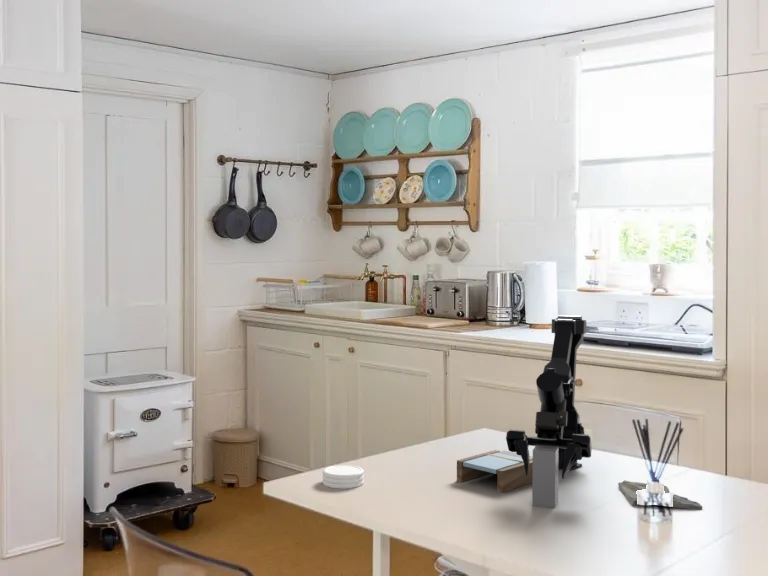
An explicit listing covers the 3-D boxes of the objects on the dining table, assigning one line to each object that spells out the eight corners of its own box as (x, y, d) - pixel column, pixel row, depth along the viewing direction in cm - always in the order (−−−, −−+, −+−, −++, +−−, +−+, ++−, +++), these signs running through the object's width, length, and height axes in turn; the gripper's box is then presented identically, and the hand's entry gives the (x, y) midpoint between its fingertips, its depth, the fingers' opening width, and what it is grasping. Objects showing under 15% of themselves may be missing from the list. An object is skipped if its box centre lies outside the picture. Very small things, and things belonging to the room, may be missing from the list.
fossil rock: (615, 488, 215) (615, 478, 215) (678, 489, 215) (678, 479, 214) (633, 510, 197) (633, 500, 197) (702, 511, 197) (702, 501, 197)
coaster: (335, 492, 211) (335, 477, 211) (315, 482, 219) (315, 468, 219) (371, 485, 216) (371, 471, 216) (350, 476, 225) (350, 462, 225)
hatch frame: (544, 478, 221) (544, 458, 221) (502, 492, 210) (502, 471, 210) (498, 468, 231) (499, 448, 231) (456, 480, 220) (456, 460, 219)
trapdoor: (536, 469, 222) (536, 456, 222) (495, 482, 211) (495, 468, 211) (503, 462, 229) (504, 449, 229) (463, 474, 218) (463, 461, 218)
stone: (535, 499, 204) (536, 444, 204) (557, 501, 203) (558, 446, 202) (532, 505, 200) (532, 450, 199) (554, 507, 198) (555, 451, 197)
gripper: (507, 394, 206) (498, 453, 197) (591, 399, 201) (585, 460, 191) (513, 421, 214) (504, 479, 205) (593, 427, 209) (588, 486, 199)
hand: (544, 476), depth 200 cm, fingers open, 8 cm apart
